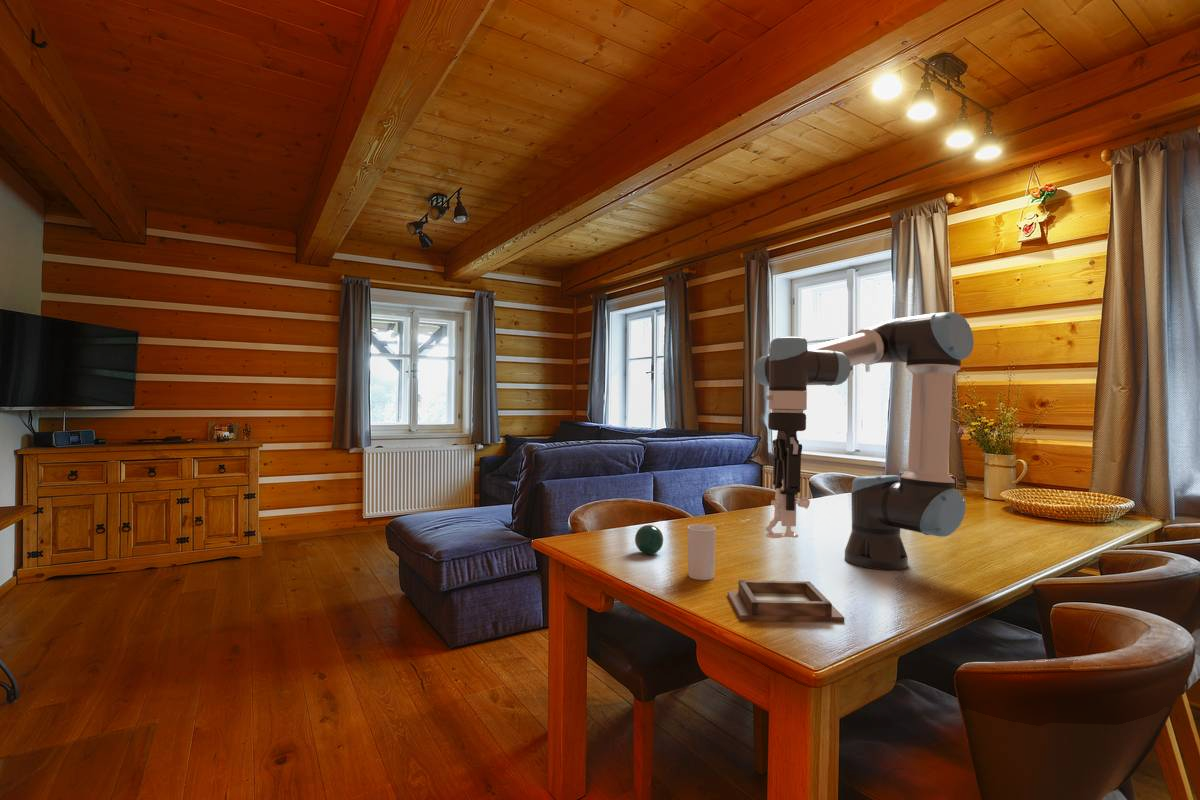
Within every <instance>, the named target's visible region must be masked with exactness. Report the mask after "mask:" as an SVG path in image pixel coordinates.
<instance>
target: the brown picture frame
mask: <svg viewBox="0 0 1200 800" xmlns="http://www.w3.org/2000/svg"><path fill="white" fill-rule="evenodd" d="M727 597H728V599H729V601H730V603H731V605H732V607H733V608H734V609H733V610H735V613H736V614H737V616H738V618H739V620H740V621H745V622H748V621H749V622H750V621H753V622H754V621H757V622H759V621H760V622H762V621H763V622H797V623H798V622H802V623H803V622H804V623H805V622H809V623H810V622H811V623H845V616H843V614H842V613H841V612H840V611H839V610H838V609H837V608H836V607H835V606H834V605H833V604H832V602H831V601H830V600H828V598H827V596H825V595H824V594H823V593H822V592H821V591H820V590H819V589H818V588H817V587H816V586H815V585H814V584H813V583H812V582H811V581H803V580H802V581H801V580H800V581H796V580H795V581H794V580H741V579H740V580H739V579H738V590H727Z"/></svg>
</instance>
